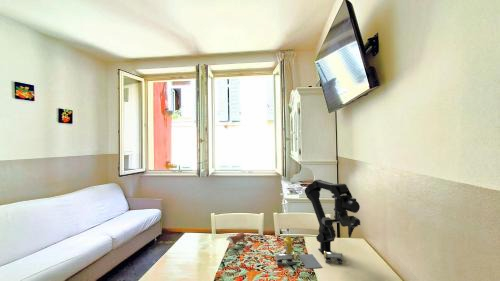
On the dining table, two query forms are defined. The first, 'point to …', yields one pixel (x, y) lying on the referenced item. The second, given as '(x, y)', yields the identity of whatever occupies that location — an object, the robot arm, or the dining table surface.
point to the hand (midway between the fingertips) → (340, 237)
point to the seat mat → (310, 261)
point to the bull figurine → (236, 238)
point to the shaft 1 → (285, 258)
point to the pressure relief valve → (287, 245)
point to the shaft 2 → (333, 257)
